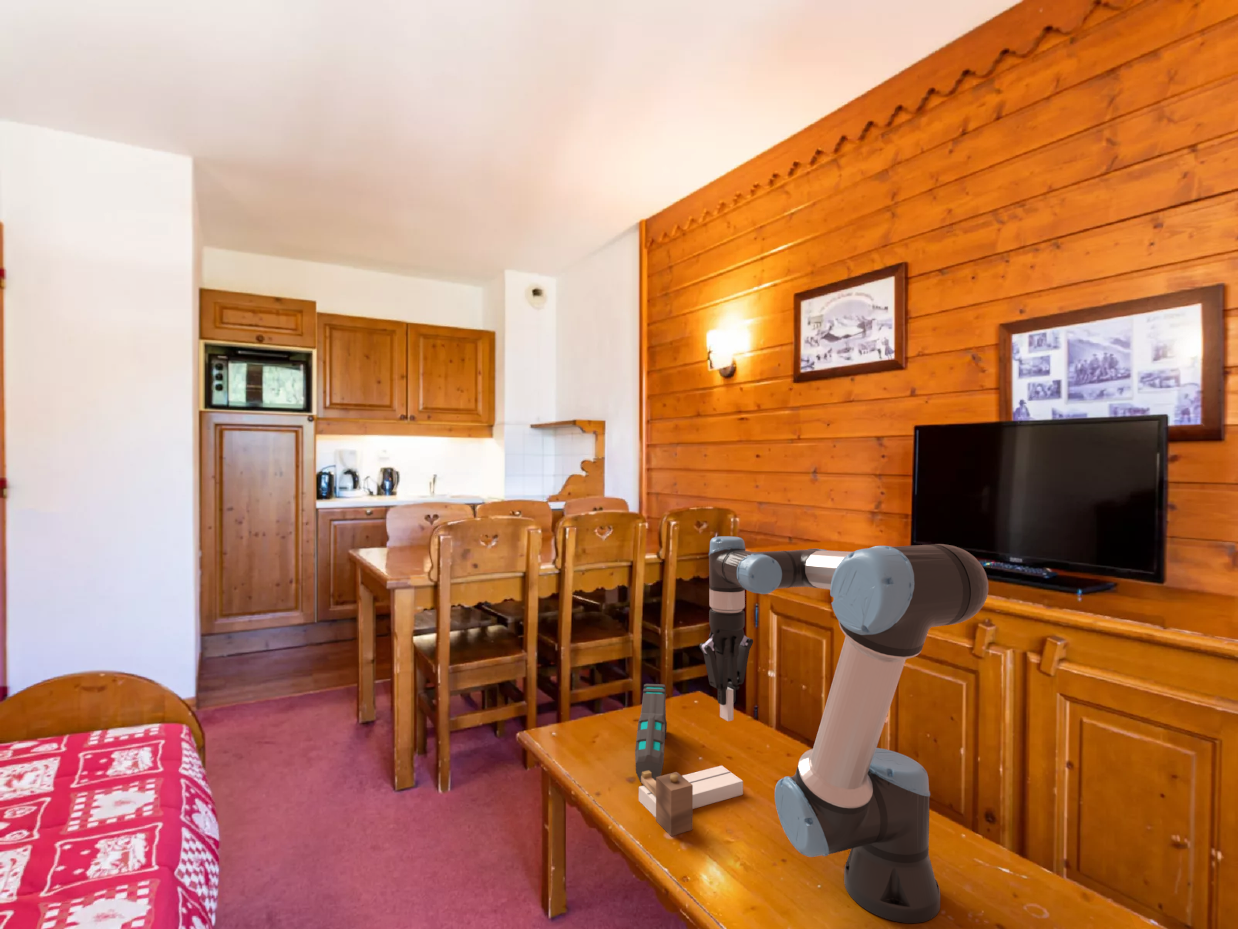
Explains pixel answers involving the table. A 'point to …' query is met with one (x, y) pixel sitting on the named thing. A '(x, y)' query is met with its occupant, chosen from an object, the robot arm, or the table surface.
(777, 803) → the robot arm
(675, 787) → the brown wooden clamp
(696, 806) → the board
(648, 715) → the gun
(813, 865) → the table surface
